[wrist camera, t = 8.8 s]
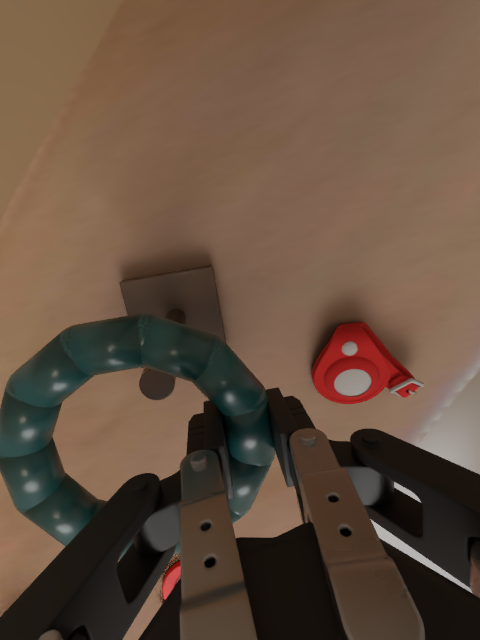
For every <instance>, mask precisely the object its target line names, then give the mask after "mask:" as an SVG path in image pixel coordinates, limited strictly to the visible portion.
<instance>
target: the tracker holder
mask: <svg viewBox="0 0 480 640" xmlns="http://www.w3.org/2000/svg"><path fill="white" fill-rule="evenodd" d="M312 379H313V382H314V385H315V387H316V389H317V391H318V392H319V393H320V394H321V395H322V396H324V397H325V398H327V399H328V400H331V401H333V402H336V403H342V404H354V403H360V402H363V401H367V400H369V399H371V398H373V397H375V396H376V395H378V394H379V393H380V392H381V391H382V390H383V389H384V388H385V387H387V388H389V391H390V393H393V394H396V395H399V396H402V397H407V396H409V395H410V394H414V395H415V394H416V392H415V390H417V389H419V388H421V387H423V386H424V383H422V382H420V381H418V380H416V379H415V378H414V377H413V376H412V375H411V374H410V372H409V371H408V370H406V369H405V368H404V367H403V366H402V365H401V364H400V363H399V362H398V361H397V360H396V359H395V358H394V357H393V356H392V355H391V354H390V352H389V351H388V350H387V349H386V348H385V346H384V345H383V344H382V343H381V341H380V340H379V339H378V338H377V337H376V335H375V334H374V333H373V332H372V330H371V329H370V328H369V327H368V325H367V324H366V323H364V322H358V323H348V324H341V325H339V326H338V327H337V329H336V330H335V332H334V334H333V336H332V337H331V339H330V340H329V342H328V344H327V345H326V347H325V348H324V349H323V350H322V351H321V353H320V355H319V356H318V358H317V360H316V362H315V364H314V367H313V370H312Z"/></svg>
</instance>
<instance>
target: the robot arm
mask: <svg viewBox="0 0 480 640" xmlns="http://www.w3.org/2000/svg"><path fill="white" fill-rule="evenodd" d="M266 392H267V396H268V401H267V402H268V409H269V415H270V422H271V429H272V436H273V443H274V448H275V451H276V454H277V457H278V460H279V463H280V466H281V469H282V472H283V475H284V478H285V481H286V484H287V487H291V486H295V489H296V494H297V501H298V506H299V510H300V514H301V519H302V523H303V524H302V525H300V526H298V527H296V528H294V529H292V530H290V531H288V532H286V533H284V534H281V535H279V536H277V537H274V538H245V537H240V538H236V539H235V534H234V529H233V525H232V520H231V515H230V511H229V500H230V499H234V498H235V497H234V489H233V481H232V473H231V465H230V457H229V451H228V445H227V440H226V435H225V429H224V424H223V419H222V414H221V411H219V410H218V408H217V407H216V406H215V405H214V404H213V403H212V402H211V401H205V402H204V413H201V414H196V415H193V417H192V418H191V420H190V421H189V425H188V441H187V456H186V457H184V459H183V460H182V461H181V464H180V470H179V471H178V472H177V473H175V474H174V475H172V476H170V477H168V478H165V479H163V480H161V481H160V480H159V478H158V476H157V475H155V474H152V473H144V474H140V475H137V476H135V477H133V478H131V479H129V480H128V481H127V482H126V483H124V484H123V486H122V487H121V488H120V489H119V490H118V491H117V492H116V493H115V494H114V495H113V496H112V497H111V498H110V500H109V501H108V502H107V503H106V504H105V505H104V506H103V507H102V508H101V509H100V510H99V511H98V512H97V514H96V515H95V516H94V517H93V518H92V519H91V520H90V521H89V522H88V523H87V524H86V525H85V526H84V528H83V529H82V530H81V531H80V532H79V533H78V534H77V535H76V536H75V537H74V538H73V539H72V541H71V542H70V543H69V544H68V545H67V546H66V547H65V548H64V549H63V550H62V551H61V552H60V553H59V555H58V556H57V557H56V558H55V559H54V560H53V561H52V562H51V563H50V564H49V565H48V566H47V567H46V569H45V570H44V571H43V572H42V573H41V574H40V575H39V576H38V577H37V578H36V579H35V580H34V581H33V583H32V584H31V585H30V586H29V587H28V588H27V589H26V590H25V591H24V592H23V593H22V594H21V596H20V597H19V598H18V599H17V600H16V601H15V602H14V603H13V604H12V605H11V606H10V607H9V608H8V610H7V611H6V612H5V613H4V614H3V615H2V616H1V617H0V640H122V639H123V637H124V636H125V634H126V632H127V631H128V629H129V627H130V626H131V624H132V623H133V621H134V619H135V618H136V616H137V614H138V613H139V611H140V609H141V608H142V606H143V604H144V603H145V601H146V599H147V598H148V596H149V594H150V593H151V591H152V589H153V588H154V586H155V584H156V583H157V581H158V579H159V578H160V576H161V574H162V573H163V571H164V570H165V568H166V566H167V565H168V563H169V561H170V560H171V558H172V556H173V555H174V553H175V550H176V544H178V543H180V567H181V579H180V580H179V581H178V583H177V584H176V585H175V587H174V588H173V590H172V591H171V593H170V594H169V595H168V597H167V598H166V600H165V601H164V603H163V604H162V606H161V607H160V609H159V610H158V612H157V613H156V615H155V616H154V617H153V619H152V620H151V622H150V623H149V625H148V626H147V628H146V629H145V631H144V632H143V634H142V635H141V637H140V638H139V639H138V640H480V475H479V474H477V473H475V472H473V471H470V470H468V469H466V468H464V467H461V466H459V465H457V464H455V463H452V462H450V461H448V460H445V459H443V458H441V457H439V456H437V455H434V454H432V453H430V452H428V451H425V450H423V449H421V448H419V447H416V446H414V445H412V444H410V443H407V442H405V441H403V440H401V439H398V438H396V437H394V436H392V435H389V434H387V433H385V432H383V431H380V430H376V429H361V430H358V431H356V432H354V433H353V434H352V435H351V438H350V441H351V442H347V441H332V440H329V439H327V436H326V435H325V434H324V433H323V432H322V431H320V430H317V429H316V428H315V426H314V425H313V423H312V421H311V419H310V418H309V416H308V414H307V413H306V411H305V409H304V408H303V405H302V404H301V402H300V400H298V399H297V398H295V397H293V396H288V397H283V396H282V394H281V392H280V390H279V388H272V389H267V390H266ZM394 482H396V483H398V484H400V485H401V486H403V487H405V488H407V489H409V490H410V491H412V492H413V493H415V494H416V495H417V496H418V498H419V499H420V501H421V503H420V502H418V501H417V500H415V499H413V498H411V497H410V496H408V495H406V494H404V493H403V492H401V491H399V490H397V489H396V488H394ZM370 519H371V520H373V521H374V522H376V523H377V524H379V525H380V526H381V527H383V528H384V529H386V530H387V531H389V532H390V533H392V534H393V535H394V536H396V537H397V538H399V539H400V540H402V541H403V542H404V543H406V544H408V545H409V546H410V547H412V548H413V549H415V550H416V551H417V552H419V553H420V554H422V555H423V556H425V557H426V558H428V559H429V560H431V561H432V562H433V563H435V564H436V565H438V566H439V567H441V568H442V569H443V570H445V571H446V572H448V573H449V574H451V575H452V576H453V577H455V578H457V579H458V580H460V581H461V582H462V583H464V584H465V585H466V586H468V587H469V588H471V590H472V592H473V594H472V593H471V592H469V591H467V590H466V589H464V588H462V587H460V586H459V585H457V584H455V583H454V582H452V581H450V580H449V579H447V578H445V577H444V576H442V575H440V574H439V573H437V572H435V571H434V570H432V569H430V568H428V567H426V566H425V565H423V564H422V563H420V562H418V561H417V560H415V559H413V558H411V557H410V556H408V555H407V554H405V553H403V552H401V551H399V550H398V549H396V548H395V547H393V546H391V545H390V544H388V543H386V542H385V541H383V540H381V539H380V538H379V537H378V535H377V533H376V531H375V528H374V526H373V524H372V522H371V520H370ZM132 540H133V543H132V545H131V546H130V547H129V549H128V550H127V551H126V553H125V554H124V555H123V557H122V558H121V559H120V561H119V562H118V560H119V558H120V556H121V554H122V553H123V552H124V550H125V549H126V548H127V546H128V545H129V544H130V542H131V541H132Z"/></svg>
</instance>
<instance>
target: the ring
mask: <svg viewBox="0 0 480 640" xmlns="http://www.w3.org/2000/svg"><path fill="white" fill-rule="evenodd" d="M138 367H146V368H150V369H153V370H156V371H159V372H162V373H166V374H169V375H172V376H175V377H179V378H182V379H185V380H188V381H192V382H193V383H194V384H195V386H196V387H197V388H198V389H199V390H200V391H201V392H202V393H203V394H204V395H205V396H206V397H207V398H208V399H209V400H210V401H211V402H212V403H213V404H214V405H215V406H216V407H217V408H218V410H219V411H221V414H222V419H223V424H224V429H225V435H226V440H227V445H228V451H229V457H230V465H231V473H232V481H233V489H234V497H235V498H234V499H230V500H229V511H230V515H231V520H232V524H233V523H234V522H236V521H237V520H238V519H240V518H241V517H243V516H244V515H245V514H246V513H247V512H248V511H249V510H250V508H251V506H252V504H253V502H254V500H255V498H256V496H257V494H258V491H259V489H260V487H261V485H262V483H263V481H264V479H265V476H266V474H267V472H268V470H269V468H270V466H271V464H272V461H273V459H274V455H275V448H274V443H273V436H272V429H271V422H270V415H269V409H268V402H267V401H268V396H267V392H266V390H265V388H264V386H263V385H262V384H261V382H260V381H259V380H258V379H257V378H256V377H255V376H254V375H253V373H252V372H251V371H250V370H249V369H248V368H247V367H246V365H245V364H244V363H243V362H242V361H241V360H240V359H239V358H238V356H237V355H236V354H235V353H234V352H233V351H232V350H231V348H230V347H229V346H228V345H227V344H226V343H225V342H224V341H223V340H222V339H221V338H219V337H218V336H216V335H213V334H210V333H207V332H204V331H201V330H198V329H196V328H193V327H190V326H187V325H184V324H181V323H178V322H175V321H172V320H169V319H166V318H163V317H160V316H157V315H154V314H148V313H143V314H136V315H130V316H125V317H119V318H113V319H107V320H101V321H95V322H89V323H83V324H78V325H73V326H71V327H69V328H66V329H65V330H64V331H62V332H61V333H60V334H59V335H57V336H56V337H55V338H54V339H53V340H52V341H50V342H49V343H48V344H47V345H46V346H45V347H43V348H42V349H41V350H40V351H39V352H37V353H36V354H35V355H34V356H33V357H32V358H30V359H29V360H28V361H27V362H26V363H25V364H23V365H22V366H21V367H20V368H19V369H18V370H16V371H15V372H14V373H13V374H12V375H11V377H10V378H9V380H8V382H7V384H6V388H5V392H4V396H3V400H2V404H1V408H0V472H1V474H2V477H3V479H4V481H5V484H6V486H7V489H8V491H9V493H10V496H11V498H12V501H13V503H14V505H15V507H16V509H17V510H18V511H19V512H20V513H21V514H22V515H24V516H25V517H27V518H28V519H29V520H31V521H32V522H33V523H35V524H36V525H37V526H39V527H40V528H41V529H43V530H44V531H45V532H47V533H48V534H49V535H51V536H52V537H53V538H55V539H56V540H58V541H59V542H60V543H62V544H63V545H64V546H67V545H68V544H69V543H70V542H71V541H72V539H73V538H74V537H75V536H76V535H77V534H78V533H79V532H80V531H81V530H82V529H83V528H84V526H85V525H86V524H87V523H88V522H89V521H90V520H91V519H92V518H93V517H94V516H95V515H96V514H97V512H98V511H99V510H100V509H101V508H102V507H103V506H104V505H105V504H106V503H107V502H108V501H104V500H100V499H97V498H96V497H95V496H93V495H92V494H91V493H90V492H88V491H87V490H86V489H85V488H84V487H82V486H81V485H80V484H79V483H77V482H76V481H75V480H74V479H72V478H71V477H70V476H69V475H68V474H66V473H65V471H64V468H63V466H62V463H61V460H60V457H59V454H58V451H57V449H56V446H55V443H54V440H53V437H52V435H53V432H54V428H55V425H56V422H57V418H58V415H59V411H60V408H61V404H62V402H63V401H64V400H65V399H66V398H67V397H69V396H70V395H71V394H72V393H74V392H75V391H76V390H77V389H78V388H80V387H81V386H82V385H83V384H84V383H86V382H87V381H88V380H89V379H91V378H92V377H93V376H94V375H99V374H105V373H110V372H116V371H121V370H127V369H133V368H138ZM132 543H133V540H132V541H131V542H130V544H129V545H128V546H127V548H126V549H125V550H124V552H123V553H122V554H121V556H120V558H119V559H121V558H122V557H123V555H124V554H125V553H126V551H127V550H128V549H129V547H130V546H131V545H132ZM177 553H180V543H178V544H176V550H175V553H174V554H177Z"/></svg>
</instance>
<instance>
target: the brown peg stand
mask: <svg viewBox="0 0 480 640" xmlns="http://www.w3.org/2000/svg"><path fill="white" fill-rule="evenodd" d="M120 287H121V291H122V295H123V299H124V302H125V306H126V310H127V314H128V316H130V315H136V314H143V313H148V314H154V315H157V316H160V317H163V318H166V319H169V320H172V321H175V322H178V323H181V324H184V325H187V326H190V327H193V328H196V329H198V330H201V331H204V332H207V333H210V334H213V335H216V336H218V337H219V338H221V339H222V340H223V341H224V342H225V343H226V341H225V335H224V330H223V324H222V318H221V313H220V307H219V301H218V296H217V290H216V284H215V279H214V273H213V267H212V265H209V266H203V267H197V268H191V269H185V270H179V271H173V272H168V273H162V274H156V275H150V276H144V277H138V278H132V279H126V280H122V281H121V282H120ZM141 368H144V367H141ZM175 380H176V377H175V376H172V375H169V374H166V373H162V372H159V371H156V370H153V369H150V368H146V367H145V368H144V371H143V373H142V376H141V378H140V381H139V386H140V390H141V392H142V393H143V394H144V395H145V396H146V397H147V398H149V399H152V400H162V399H165V398H167V397H168V396H169V395H170V394H171V393H172V392H173V390H174V385H175Z"/></svg>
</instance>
